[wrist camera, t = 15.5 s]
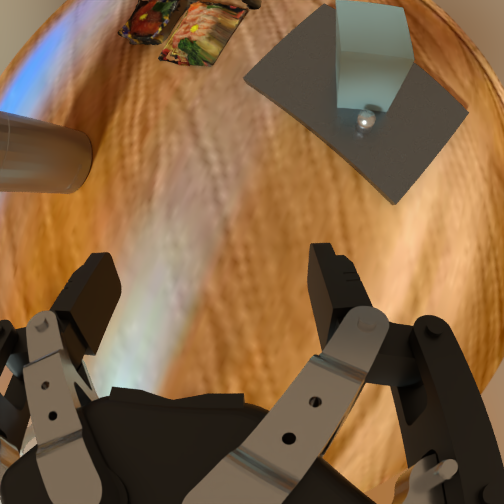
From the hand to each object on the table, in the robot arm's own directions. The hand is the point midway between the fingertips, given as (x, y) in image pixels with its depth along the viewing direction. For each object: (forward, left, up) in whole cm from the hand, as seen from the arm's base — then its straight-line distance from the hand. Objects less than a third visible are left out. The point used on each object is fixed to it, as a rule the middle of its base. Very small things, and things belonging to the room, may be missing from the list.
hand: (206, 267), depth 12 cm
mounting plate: (-4, +17, -19) cm, 26 cm away
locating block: (-4, +17, -18) cm, 25 cm away
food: (-29, +17, -20) cm, 39 cm away
